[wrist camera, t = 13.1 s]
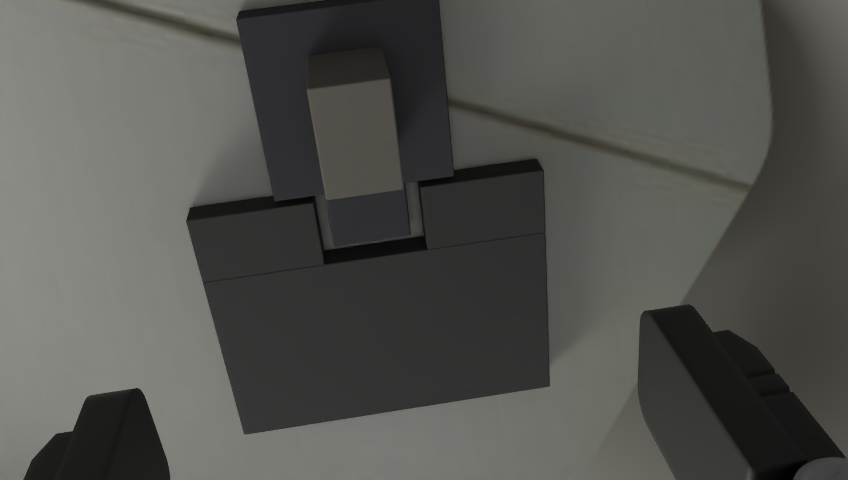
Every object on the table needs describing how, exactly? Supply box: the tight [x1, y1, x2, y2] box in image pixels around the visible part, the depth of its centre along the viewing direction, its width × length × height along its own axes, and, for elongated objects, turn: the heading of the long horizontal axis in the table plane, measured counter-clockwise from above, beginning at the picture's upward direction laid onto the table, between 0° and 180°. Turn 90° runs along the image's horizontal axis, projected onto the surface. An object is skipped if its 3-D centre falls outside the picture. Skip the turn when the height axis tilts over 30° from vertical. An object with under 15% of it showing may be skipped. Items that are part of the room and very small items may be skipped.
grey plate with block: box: [236, 0, 454, 246], centre depth 37 cm, size 9×12×6 cm
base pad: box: [186, 159, 550, 434], centre depth 44 cm, size 18×14×2 cm
